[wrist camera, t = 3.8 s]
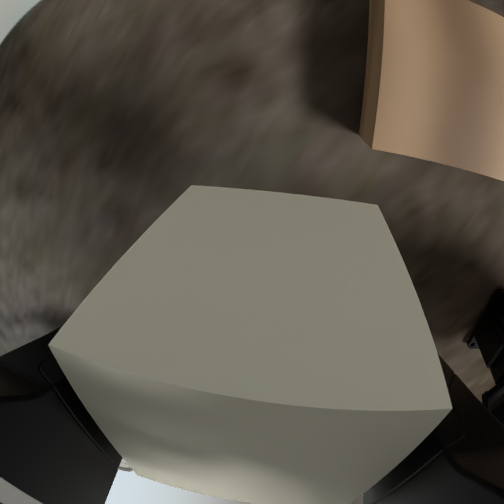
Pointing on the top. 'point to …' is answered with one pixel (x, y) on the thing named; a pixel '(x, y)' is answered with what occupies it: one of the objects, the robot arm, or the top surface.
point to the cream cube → (258, 349)
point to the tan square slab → (436, 83)
